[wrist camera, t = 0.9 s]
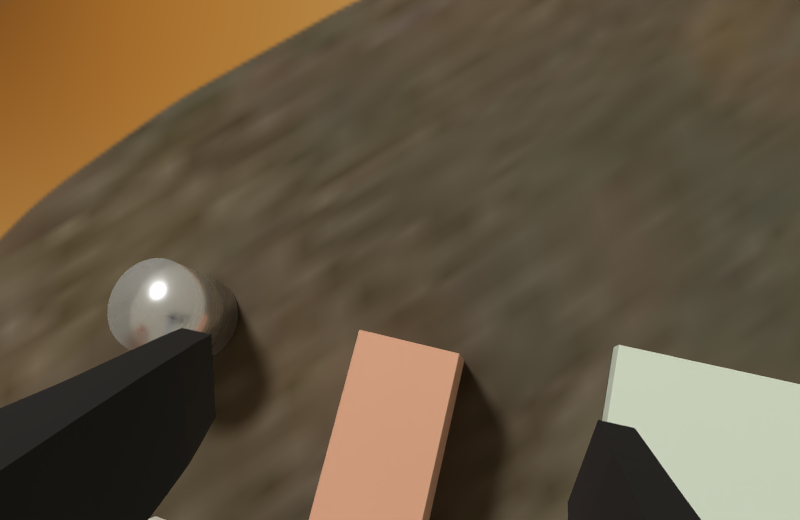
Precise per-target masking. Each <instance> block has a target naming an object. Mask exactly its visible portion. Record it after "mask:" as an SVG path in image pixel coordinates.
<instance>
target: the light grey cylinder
mask: <svg viewBox="0 0 800 520" xmlns="http://www.w3.org/2000/svg"><path fill="white" fill-rule="evenodd" d="M238 318H239V310H238V304H237V301H236V298H235V296H234V294H233V293H232V291H231V290H230V289H229V288H228V287H227V286H226V285H224V284H223V283H221V282H219V281H217V280H214V279H212V278H210V277H208V276H205V275H203V274H201V273H198V272H196V271H194V270H192V269H189V268H187V267H185V266H183V265H180V264H178V263H176V262H173V261H171V260H168V259H162V258H154V259H148V260H145V261H142V262H140V263H138V264H136V265H134V266H133V267H131V268H130V269H129V270H128V271H126V272H125V273H124V274H123V275H122V277H121V278H120V279H119V280H118V282H117V283H116V285H115V287H114V288H113V291H112V293H111V296H110V299H109V303H108V322H109V326H110V329H111V331H112V334H113V335H114V337H115V338H116V339H117V341H118V342H119V343H120V344H122V345H123V346H124V347H126V348H128V349H130V350H133V349H135V348H137V347H139V346H142V345H144V344H146V343H148V342H150V341H152V340H155V339H157V338H159V337H161V336H163V335H166V334H168V333H170V332H173V331H175V330H178V329H180V328H185V329H190V330H194V331H199V332H203V333H208V334H211V335H212V356H213V355H215V354H217V353H218V352H219V351H221V350H222V349H223V348H224V347H225V346H226V345H227V344H228V343H229V341H230V340H231V338H232V337H233V335H234V333H235V330H236V328H237V324H238Z"/></svg>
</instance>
